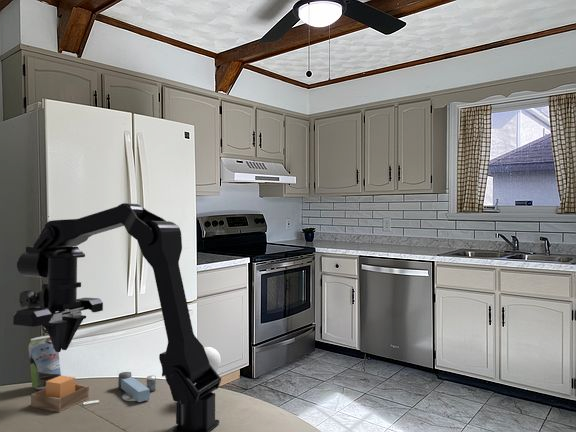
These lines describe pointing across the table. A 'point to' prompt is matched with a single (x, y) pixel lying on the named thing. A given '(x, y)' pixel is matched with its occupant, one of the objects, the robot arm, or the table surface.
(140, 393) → the crank
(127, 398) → the plate
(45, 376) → the printed food package
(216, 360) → the lightbulb
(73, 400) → the tray
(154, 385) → the post
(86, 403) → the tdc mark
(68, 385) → the block
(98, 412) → the table surface
